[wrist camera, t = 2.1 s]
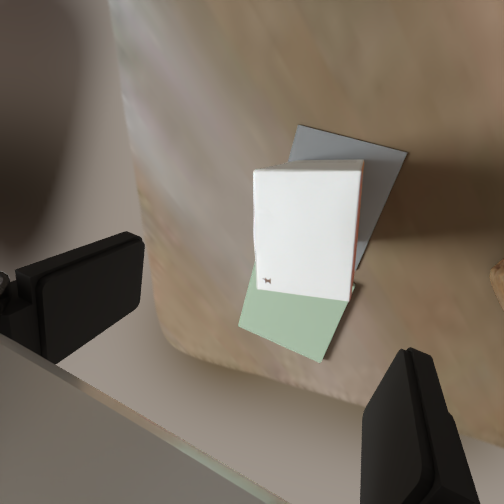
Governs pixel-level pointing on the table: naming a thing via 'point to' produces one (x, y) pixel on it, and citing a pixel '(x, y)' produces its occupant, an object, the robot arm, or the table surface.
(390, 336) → the table surface
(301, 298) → the sage board
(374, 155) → the slate tile
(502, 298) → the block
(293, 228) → the small box
